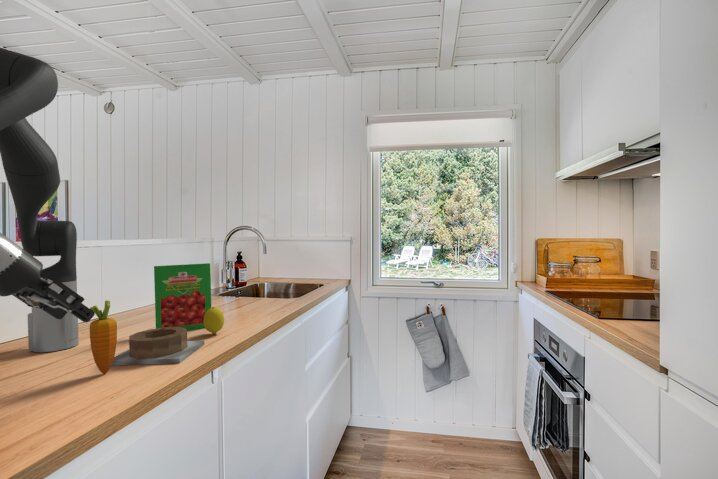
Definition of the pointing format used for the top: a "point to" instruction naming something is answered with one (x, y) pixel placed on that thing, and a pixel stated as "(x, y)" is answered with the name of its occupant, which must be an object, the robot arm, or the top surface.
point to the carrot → (103, 338)
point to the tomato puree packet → (182, 295)
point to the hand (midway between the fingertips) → (76, 316)
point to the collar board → (158, 347)
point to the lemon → (213, 320)
